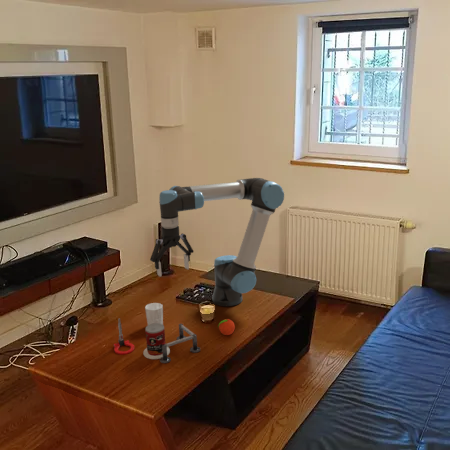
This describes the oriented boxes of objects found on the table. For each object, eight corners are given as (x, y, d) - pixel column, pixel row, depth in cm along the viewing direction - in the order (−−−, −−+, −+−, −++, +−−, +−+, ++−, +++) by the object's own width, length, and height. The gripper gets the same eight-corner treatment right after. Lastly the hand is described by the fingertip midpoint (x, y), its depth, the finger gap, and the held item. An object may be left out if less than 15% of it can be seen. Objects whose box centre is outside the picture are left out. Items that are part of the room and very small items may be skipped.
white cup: (161, 330, 248) (159, 310, 245) (144, 329, 250) (142, 309, 247) (166, 322, 255) (164, 303, 252) (150, 321, 257) (148, 302, 254)
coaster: (162, 343, 237) (162, 342, 237) (174, 353, 228) (174, 352, 228) (139, 351, 231) (139, 349, 231) (150, 362, 222) (150, 360, 222)
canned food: (144, 355, 226) (142, 331, 223) (151, 345, 234) (149, 322, 231) (162, 356, 225) (160, 332, 222) (168, 347, 232) (166, 323, 229)
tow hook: (137, 352, 231) (130, 342, 239) (134, 325, 227) (128, 315, 235) (117, 357, 228) (111, 346, 236) (114, 330, 223) (108, 320, 231)
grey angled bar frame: (183, 335, 243) (182, 321, 241) (202, 350, 229) (201, 335, 227) (145, 348, 233) (144, 333, 231) (162, 364, 220) (161, 349, 218)
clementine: (221, 339, 238) (220, 325, 236) (214, 333, 244) (214, 318, 242) (237, 335, 241) (237, 320, 239) (230, 329, 247) (230, 314, 245)
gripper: (147, 233, 228) (151, 281, 234) (199, 222, 241) (201, 268, 247) (140, 229, 234) (144, 275, 241) (191, 219, 247) (193, 263, 253)
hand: (173, 272), depth 244 cm, fingers open, 13 cm apart
